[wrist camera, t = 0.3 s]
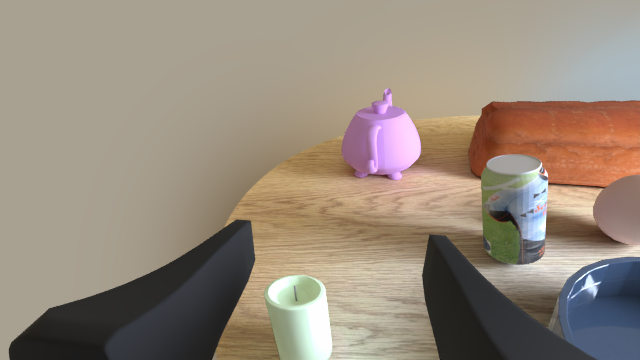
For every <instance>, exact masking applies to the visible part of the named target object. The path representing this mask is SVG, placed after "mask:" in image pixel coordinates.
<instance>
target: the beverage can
mask: <svg viewBox="0 0 640 360" xmlns="http://www.w3.org/2000/svg"><path fill="white" fill-rule="evenodd" d="M486 166H487V167H486V168H485V169H484V171H483V172H482V174H481V190H482V216H483V242H484V249H485V251H486V252H487V253H488V254H489V255H490V256H491V257H493V258H494V259H496V260H499V261H501V262H503V263H507V264H511V265H524V264H529V263H533V262H535V261H537V260H539V259H540V258H541V257H542V256H543V254H544V248H545V229H546V209H547V190H548V174H547V172H546V170H545V169H544V168H543V167H542V163H541V161H540V160H539V159H538V158H535V157H533V156H529V155H521V154H510V155H502V156H498V157H495V158H492V159H491V160H489V161H488V162H487V165H486Z"/></svg>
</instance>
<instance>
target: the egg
mask: <svg viewBox="0 0 640 360" xmlns="http://www.w3.org/2000/svg"><path fill="white" fill-rule="evenodd" d="M593 216H594V219H595V221H596V223H597V225H598V226H599V228H600V229H601V230H602V231H603V232H604V233H605V234H606V235H608V236H609V237H611V238H612V239H614V240H616V241H619V242H622V243H625V244H631V245H640V174H638V175H630V176H626V177H623V178H620V179H618V180H616V181H614V182H612V183H611V184H610V185H608V186H607V187H606V188H604V189H603V190H602V191H601V192H600V194H599V195H598V197H597V198H596V201H595V204H594V206H593Z"/></svg>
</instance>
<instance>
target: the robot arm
mask: <svg viewBox="0 0 640 360" xmlns="http://www.w3.org/2000/svg"><path fill="white" fill-rule="evenodd" d="M254 262H255V253H254V245H253V236H252V227H251V221H248V220H235V221H234V222H232V223H231V224H229V225H228V226H226V227H225V228H223V229H222V230H220V231H219V232H218V233H216V234H215V235H213V236H212V237H210V238H209V239H207V240H206V241H204V242H203V243H202V244H200V245H199V246H197V247H195V248H194V249H192V250H191V251H189V252H187V253H186V254H185V255H182V256H181V257H179V258H178V259H176V260H174V261H172V262H170V263H169V264H167V265H165V266H163V267H161V268H159V269H157V270H155V271H153V272H151V273H149V274H147V275H145V276H142V277H140V278H137V279H135V280H133V281H131V282H128V283H126V284H124V285H121V286H118V287H116V288H113V289H111V290H108V291H105V292H102V293H99V294H96V295H93V296H91V297H87V298H84V299H81V300H77V301H74V302H70V303H67V304H64V305H60V306H56V307H53V308H49V309H48V310H47V311H46V312H45V313H44V314H43V315H42V316H40V317H39V318H38V319H37V320H36V321H35V322H34V323H33V324H32V325H30V326H29V327H28V328H27V329H26V330H25V331H24V332H23V333H22V334H20V335H19V336H18V337H17V338H16V339H15V340H14V341H13V342H12V343H11V345H10V347H9V357H10V360H212V358H213V356H214V353H215V350H216V348H217V345H218V342H219V340H220V337H221V335H222V333H223V331H224V329H225V326H226V324H227V322H228V321H229V319H230V317H231V315H232V313H233V311H234V309H235V307H236V305H237V303H238V301H239V299H240V297H241V295H242V292H243V290H244V288H245V286H246V284H247V282H248V280H249V277H250V274H251V271H252V268H253V265H254ZM422 278H423V287H424V295H425V301H426V306H427V310H428V314H429V318H430V322H431V326H432V330H433V334H434V337H435V341H436V345H437V349H438V353H439V358H440V360H598V359H596V358H594V357H593V356H591V355H589V354H587V353H586V352H584V351H583V350H581V349H579V348H578V347H576V346H574V345H573V344H571V343H569V342H568V341H566V340H565V339H563V338H561V337H560V336H558V335H557V334H555V333H554V332H552V331H551V330H549V329H548V328H546V327H545V326H544V325H542V324H541V323H539V322H538V321H536V320H535V319H533V318H532V317H531V316H529V315H528V314H527V313H525V312H524V311H523V310H522V309H520V308H519V307H518V306H517V305H515V304H514V303H513V302H512V301H510V300H509V299H508V298H507V297H505V296H504V295H503V294H502V293H501V292H500V291H499V290H497V289H496V288H495V287H494V286H493V285H492V284H491V283H490V282H489V281H488V280H487V279H486V278H485V277H484V276H483V275H482V274H481V273H480V272H479V271H478V270H477V269H476V268H475V267H474V266H473V265H472V264H471V263H470V262H469V261H468V260H467V259H466V258H465V257H464V256H463V254H462V253H461V252H460V251H459V250H458V249H457V248H456V247H455V245H454V244H453V243H452V242H451V241H450V240H449V239H448V238H447V237H446V236H442V235H429V240H428V245H427V251H426V257H425V262H424V268H423V274H422Z"/></svg>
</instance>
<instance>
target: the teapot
mask: <svg viewBox="0 0 640 360" xmlns="http://www.w3.org/2000/svg"><path fill="white" fill-rule="evenodd" d="M383 97H384V98H383V101H375V102H373V103H372V107H368V108H364V109H361V110H359V111H358V112H357V113H356V114H355V116H354V117H353V119H352V121H351V122H350V124H349V126H348V128H347V130H346V132H345V135H344V138H343V143H342V156H343V158H344V160H345V161H346V162H347V163H348V164H349V165H350V166H351V167H353V168H354V169H355V170H356V172H355V174H354V175H355V176H356V177H365V176H367V175H368V174H376V175H384V174H387V175H388V178H389V179H392V180H398V179H401V178H402V175H401V173H400V172H401V171H403V170H405V169H407V168H408V167H410V166H411V165H412V164H413V163H414V162H415V161H416V160H417V159H418V157H419V156H420V153H421V144H420V138H419V135H418V132H417V129H416V128H415V126H414V124H413V122H412V121H411V119H410V117H409V116H408V115H407V113H406V112H405V111H404V110H403V109H401V108H398V107H394V106H392V100H391V89H386V90H385V91H384V96H383Z"/></svg>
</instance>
